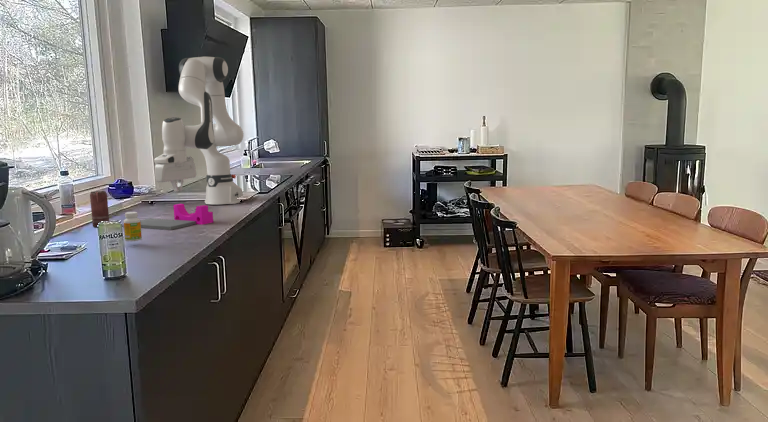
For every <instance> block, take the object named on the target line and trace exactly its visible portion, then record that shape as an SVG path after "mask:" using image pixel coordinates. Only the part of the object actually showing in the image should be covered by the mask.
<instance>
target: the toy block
mask: <svg viewBox="0 0 768 422" xmlns="http://www.w3.org/2000/svg"><path fill="white" fill-rule="evenodd" d="M213 212H214V211H209V204H205V205H196V206H195V212H191V213H189V212H188V210H187V209H186V208H185V204H184V203H177V204H176V203H175V204H173V217H174V219H173V220H186V221H196V224H195V225H206V224H211V223H214V215H213V214H214V213H213Z"/></svg>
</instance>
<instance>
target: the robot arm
mask: <svg viewBox="0 0 768 422" xmlns="http://www.w3.org/2000/svg"><path fill="white" fill-rule="evenodd" d="M178 72H179V75H180V77H179V80H178V81H179V82H178V93H179V95H180V97H181V98H182V99H183V100H184V101H185V102H187V103H188V104H192V105H194V106H197V107H199V108H200V123H199V124H196V125H185V124H184V121H183V119H182V118H181V117H169V118H165V119H164V120H162V125H161V136H162V137H161V138H162V142H163V152H162V154H160V155H159V156H157V157H155V158H154V159H153V162H154V164H155V165H154V179H155V181H156V182H157V183H167V182H168V183H169V182H170V184H171V186H172V187H173V191H174V192H181V191H182V190H183V184H184V180H188V179H194V178H196V176H197V170H196V165H195V164H196V163H195V161H194V158H193V157H191V155H189V156H187V149H199V151H200V152H201V153H202V155H203V157H204V159H205V165H206V175H205V176H206V177H205V179H206V183H207V184H206V187H205V200H204V203H205V205H231V204H233V205H235V204H239V203H241V202H240V201H241V200H237V198H239V197H241V196H243V197H244V195H243V189H242V188H241V186H239V185H238V184H237V183H235V181H234V179H236V178H237V175H236V174H231V163H230V159H229V157H228V156H227V155H226V154H224V153H222V152H220V151H218V149H217V147H234V146H237V145H240V144H241V143H242V141H243V140H244V131H243V128H242V127H241V126H240V125H239V124H237V123H236V122H235V121H234V120H233V119H232V118H231V117H230V114H229V113H228V109H227V104H226V103H227V102H226V95H225V87H224V80H226V78H227V76H228V73H229V67H228V63H227V61H226V60H225V59H224V57H223V58H222V57H219V56H215V57H214V56H197V57H185V58H182V59H181V60H180V61H179V64H178ZM213 119H214V120H213ZM214 121H215V123H213V122H214Z"/></svg>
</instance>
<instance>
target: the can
mask: <svg viewBox="0 0 768 422" xmlns="http://www.w3.org/2000/svg"><path fill="white" fill-rule="evenodd" d="M89 200H90V210H91V222H92V226H93V228H98V227H97V225H98V223H99V222H101V221H109V222H110V214H109V202H108V201H109V200H108V193H107V192H106V191H105V190H98V191H90V194H89Z"/></svg>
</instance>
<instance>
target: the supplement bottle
mask: <svg viewBox="0 0 768 422" xmlns="http://www.w3.org/2000/svg"><path fill="white" fill-rule="evenodd" d="M138 216H139V215H138V212H137V211H127V212H125V213H124V217H125V219H123V230H124V241H125V242H138V241H141V240H143V239H142V237H143V235H142V228H141V222H140V220H141V219H140V218H139V217H138Z"/></svg>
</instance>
